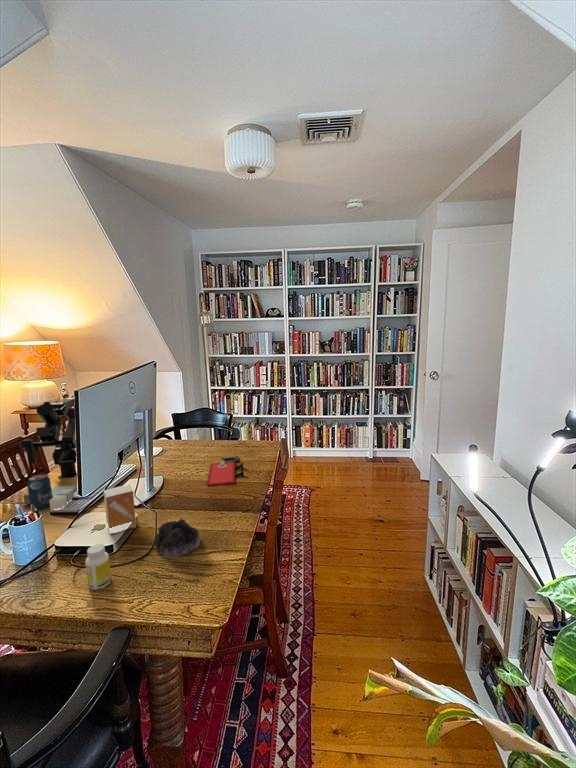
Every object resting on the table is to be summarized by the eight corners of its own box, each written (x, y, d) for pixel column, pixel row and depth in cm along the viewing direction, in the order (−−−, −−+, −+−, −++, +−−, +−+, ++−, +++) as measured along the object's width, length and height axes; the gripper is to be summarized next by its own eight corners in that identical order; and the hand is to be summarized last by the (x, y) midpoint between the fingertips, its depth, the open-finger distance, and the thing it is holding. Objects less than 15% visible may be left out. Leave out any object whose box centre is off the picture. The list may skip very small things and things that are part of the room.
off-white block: (56, 505, 138) (55, 495, 138) (67, 504, 139) (66, 494, 138) (50, 510, 135) (49, 500, 134) (62, 510, 135) (60, 499, 134)
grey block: (63, 499, 143) (62, 489, 143) (74, 498, 144) (72, 488, 143) (58, 504, 139) (56, 494, 139) (69, 503, 140) (67, 493, 139)
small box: (110, 535, 117) (105, 497, 115) (107, 527, 122) (102, 490, 120) (137, 527, 122) (133, 490, 119) (133, 519, 127) (129, 483, 125)
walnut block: (31, 500, 143) (29, 490, 143) (42, 499, 144) (40, 489, 143) (24, 505, 140) (23, 495, 139) (36, 504, 140) (34, 494, 139)
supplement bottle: (115, 575, 99) (111, 541, 97) (106, 589, 93) (101, 554, 92) (94, 576, 98) (90, 542, 97) (84, 591, 93) (79, 555, 91)
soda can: (44, 512, 133) (40, 480, 132) (26, 512, 134) (21, 480, 132) (57, 502, 140) (53, 473, 138) (40, 502, 141) (35, 473, 139)
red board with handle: (242, 457, 183) (211, 460, 181) (242, 452, 182) (211, 455, 180) (244, 484, 153) (207, 488, 151) (243, 478, 153) (206, 481, 151)
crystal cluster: (169, 533, 119) (163, 506, 117) (209, 533, 116) (203, 505, 114) (148, 563, 106) (140, 532, 104) (192, 563, 104) (185, 532, 101)
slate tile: (55, 489, 152) (54, 487, 152) (77, 488, 153) (77, 485, 153) (42, 499, 143) (42, 497, 143) (66, 498, 144) (66, 495, 144)
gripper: (18, 420, 143) (8, 456, 134) (71, 416, 148) (65, 451, 138) (29, 434, 152) (20, 469, 143) (79, 430, 156) (74, 464, 147)
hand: (45, 463), depth 142 cm, fingers open, 9 cm apart
